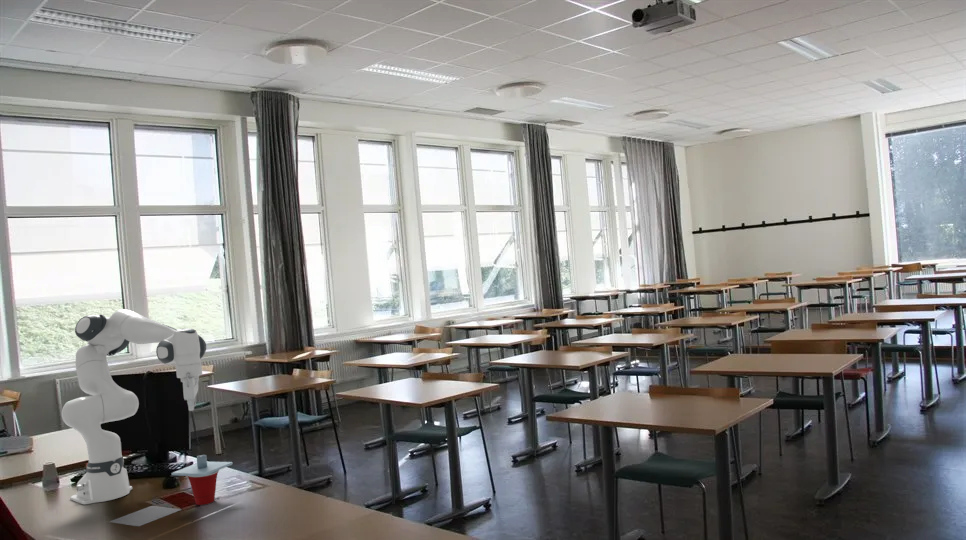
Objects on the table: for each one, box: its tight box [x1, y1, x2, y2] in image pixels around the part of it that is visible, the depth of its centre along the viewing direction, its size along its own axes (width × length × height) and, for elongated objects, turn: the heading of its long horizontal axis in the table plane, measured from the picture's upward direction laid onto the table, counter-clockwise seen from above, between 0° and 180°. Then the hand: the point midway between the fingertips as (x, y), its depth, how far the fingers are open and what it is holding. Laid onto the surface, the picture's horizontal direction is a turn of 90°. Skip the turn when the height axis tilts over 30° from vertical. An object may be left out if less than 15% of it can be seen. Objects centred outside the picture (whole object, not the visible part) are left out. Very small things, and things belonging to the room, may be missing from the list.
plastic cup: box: [187, 470, 220, 506], centre depth 240 cm, size 11×11×12 cm
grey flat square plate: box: [108, 505, 182, 528], centre depth 230 cm, size 16×16×1 cm
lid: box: [171, 454, 233, 477], centre depth 240 cm, size 14×14×5 cm
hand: (192, 408), depth 256 cm, fingers open, 8 cm apart
